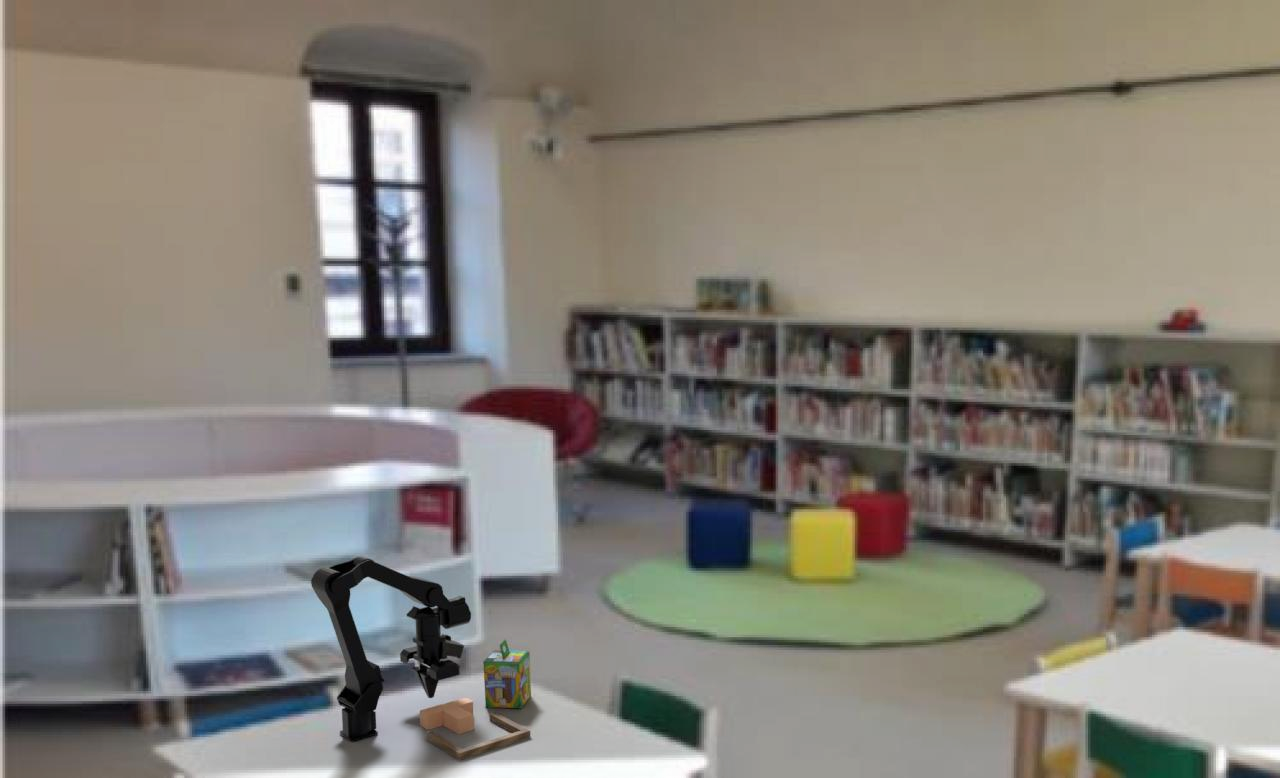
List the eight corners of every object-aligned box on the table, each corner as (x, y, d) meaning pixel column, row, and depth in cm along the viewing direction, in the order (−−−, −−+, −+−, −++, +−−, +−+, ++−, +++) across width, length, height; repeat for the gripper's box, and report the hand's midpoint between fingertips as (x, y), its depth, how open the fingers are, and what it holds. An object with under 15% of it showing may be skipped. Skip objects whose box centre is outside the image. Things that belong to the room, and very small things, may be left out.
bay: (459, 760, 238) (459, 753, 238) (426, 739, 249) (426, 733, 249) (530, 737, 249) (530, 730, 249) (495, 718, 261) (495, 712, 260)
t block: (442, 738, 250) (442, 723, 249) (420, 725, 258) (419, 710, 257) (489, 724, 257) (488, 709, 257) (465, 711, 265) (465, 697, 265)
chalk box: (521, 710, 266) (519, 649, 264) (484, 708, 268) (481, 647, 266) (532, 695, 275) (530, 636, 273) (496, 693, 277) (494, 635, 275)
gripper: (478, 634, 262) (480, 699, 263) (439, 617, 276) (441, 679, 278) (436, 645, 255) (438, 712, 256) (397, 627, 269) (400, 690, 271)
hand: (430, 697), depth 265 cm, fingers closed
